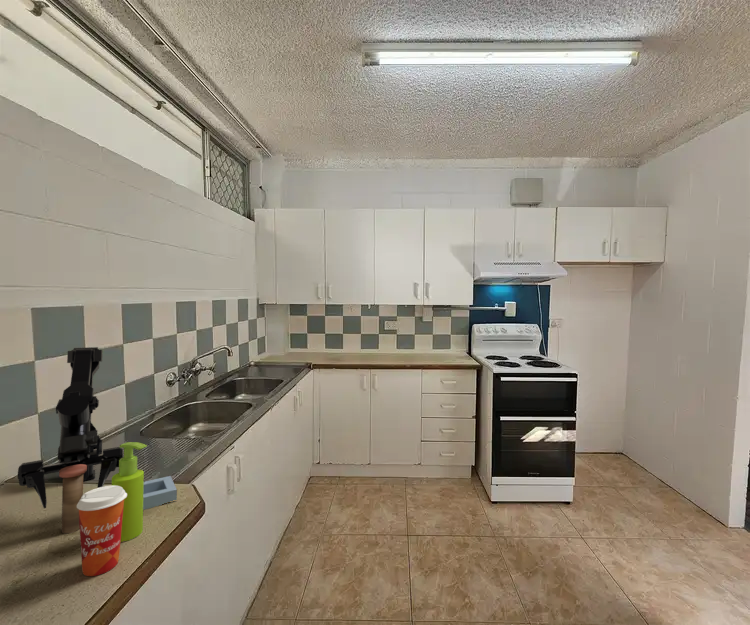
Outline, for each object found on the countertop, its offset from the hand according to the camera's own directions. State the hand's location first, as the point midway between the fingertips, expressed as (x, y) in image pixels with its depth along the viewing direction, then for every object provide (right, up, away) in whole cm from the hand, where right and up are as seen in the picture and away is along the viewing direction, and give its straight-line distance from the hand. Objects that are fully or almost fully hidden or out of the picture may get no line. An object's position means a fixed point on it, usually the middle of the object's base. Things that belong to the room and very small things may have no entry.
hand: (72, 501), depth 82 cm
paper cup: (+15, -7, -11) cm, 20 cm away
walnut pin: (-1, -7, +1) cm, 7 cm away
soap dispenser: (+13, -7, -1) cm, 15 cm away
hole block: (+9, -7, +15) cm, 18 cm away
